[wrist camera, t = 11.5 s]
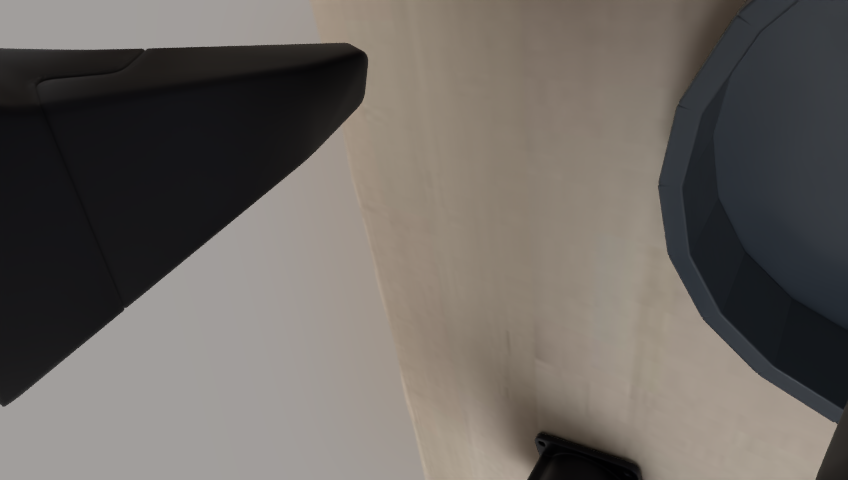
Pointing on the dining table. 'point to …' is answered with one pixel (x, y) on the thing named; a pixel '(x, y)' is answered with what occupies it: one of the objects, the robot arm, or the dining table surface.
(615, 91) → the dining table surface
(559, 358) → the dining table surface
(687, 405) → the dining table surface
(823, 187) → the pot
